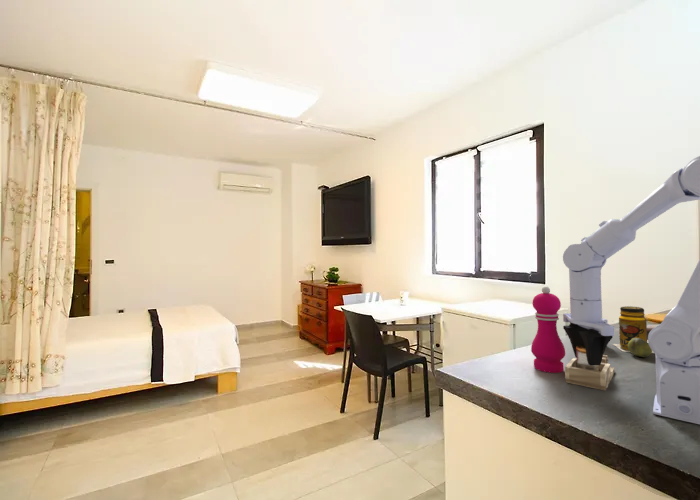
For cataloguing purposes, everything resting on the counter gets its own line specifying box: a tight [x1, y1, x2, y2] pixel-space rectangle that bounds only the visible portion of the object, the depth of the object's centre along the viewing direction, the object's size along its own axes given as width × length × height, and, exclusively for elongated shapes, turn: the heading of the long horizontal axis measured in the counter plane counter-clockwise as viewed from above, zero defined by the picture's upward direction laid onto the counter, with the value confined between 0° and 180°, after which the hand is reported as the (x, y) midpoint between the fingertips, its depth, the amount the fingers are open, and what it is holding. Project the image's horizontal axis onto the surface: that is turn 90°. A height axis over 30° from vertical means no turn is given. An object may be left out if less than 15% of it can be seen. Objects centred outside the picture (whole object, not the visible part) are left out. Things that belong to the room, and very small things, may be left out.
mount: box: [564, 354, 616, 391], centre depth 77 cm, size 14×7×4 cm, turn 136°
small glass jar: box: [576, 345, 599, 371], centre depth 75 cm, size 4×4×6 cm
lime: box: [628, 338, 653, 358], centre depth 91 cm, size 4×5×5 cm
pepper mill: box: [530, 286, 566, 374], centre depth 84 cm, size 7×7×20 cm
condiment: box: [612, 305, 655, 354], centre depth 98 cm, size 7×8×12 cm
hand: (587, 361), depth 75 cm, fingers closed on small glass jar, 4 cm apart
